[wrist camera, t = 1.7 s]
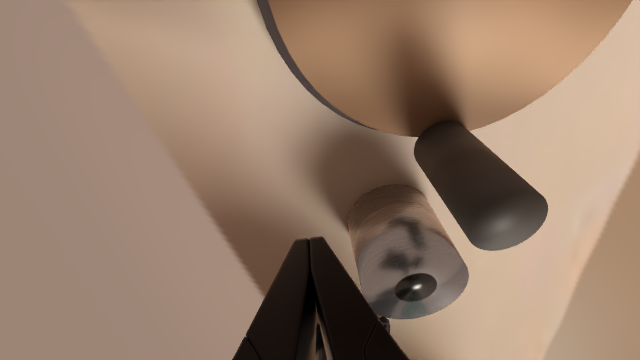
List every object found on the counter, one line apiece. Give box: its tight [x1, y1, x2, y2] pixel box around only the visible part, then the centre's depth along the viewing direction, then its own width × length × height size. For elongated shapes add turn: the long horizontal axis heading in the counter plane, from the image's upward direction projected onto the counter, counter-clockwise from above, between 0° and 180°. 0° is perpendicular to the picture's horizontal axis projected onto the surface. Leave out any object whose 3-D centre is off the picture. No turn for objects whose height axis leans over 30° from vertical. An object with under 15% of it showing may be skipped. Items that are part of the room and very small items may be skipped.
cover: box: [348, 185, 469, 319], centre depth 17 cm, size 5×5×5 cm
